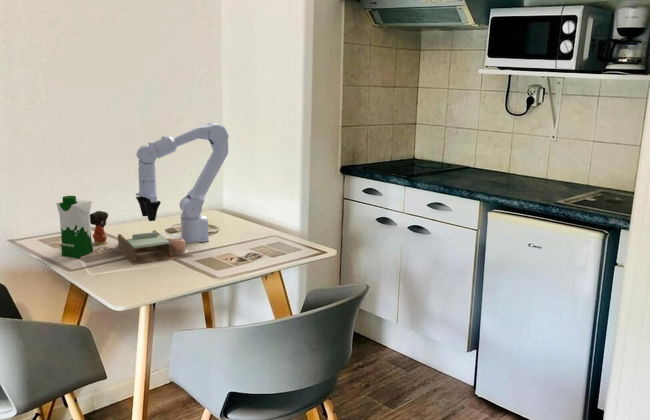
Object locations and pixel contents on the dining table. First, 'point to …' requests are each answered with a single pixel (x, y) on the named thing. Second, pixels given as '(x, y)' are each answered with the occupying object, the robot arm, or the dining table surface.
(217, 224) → the dining table surface
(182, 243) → the tan domed cylinder
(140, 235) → the lid
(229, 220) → the dining table surface
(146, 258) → the brown wooden tray
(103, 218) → the figurine
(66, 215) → the milk carton
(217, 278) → the dining table surface
